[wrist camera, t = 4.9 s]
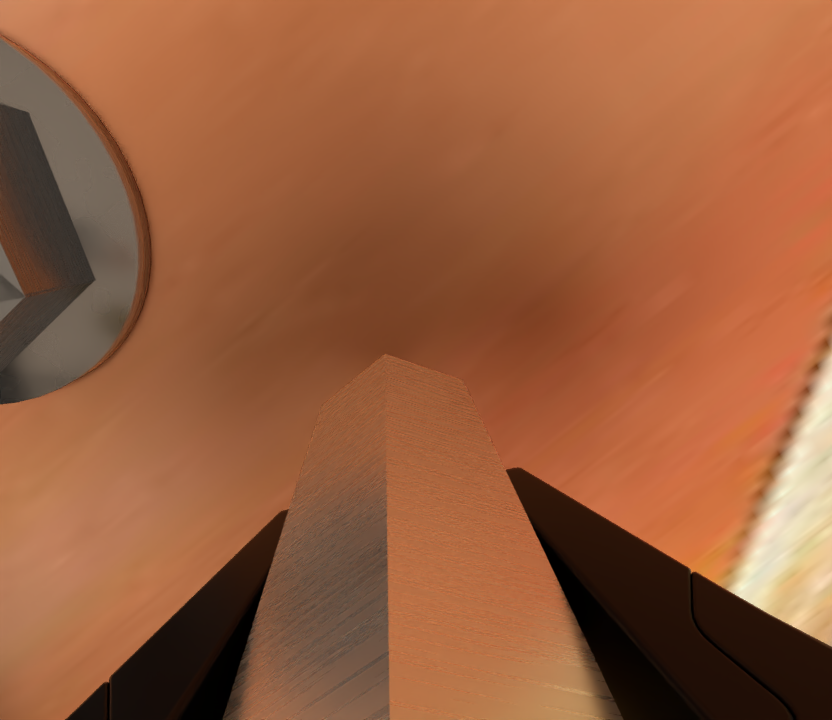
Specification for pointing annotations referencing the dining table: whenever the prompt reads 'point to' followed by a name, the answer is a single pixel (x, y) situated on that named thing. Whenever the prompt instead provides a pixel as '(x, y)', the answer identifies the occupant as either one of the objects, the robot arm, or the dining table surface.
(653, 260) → the dining table surface
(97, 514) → the dining table surface
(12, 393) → the socket
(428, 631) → the tan elongated piece
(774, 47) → the dining table surface
